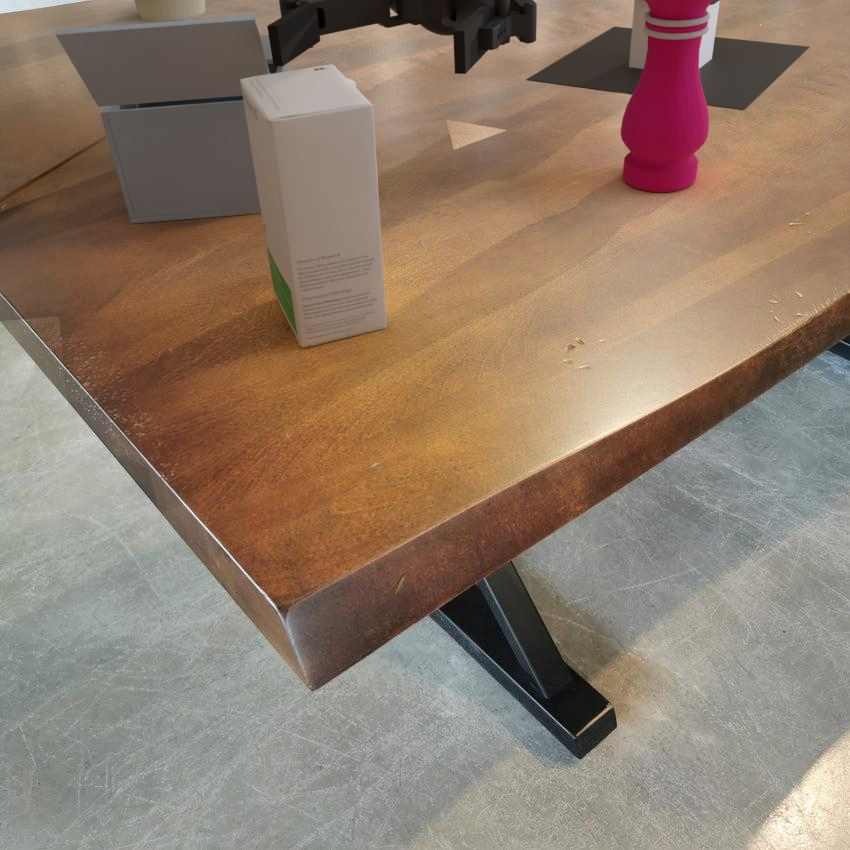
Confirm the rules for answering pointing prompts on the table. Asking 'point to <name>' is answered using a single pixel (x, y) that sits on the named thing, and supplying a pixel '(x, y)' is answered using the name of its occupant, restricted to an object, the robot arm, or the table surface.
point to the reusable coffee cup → (169, 9)
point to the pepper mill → (668, 100)
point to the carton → (185, 156)
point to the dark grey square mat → (718, 62)
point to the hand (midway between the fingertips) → (363, 49)
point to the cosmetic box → (318, 200)
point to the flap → (166, 59)
